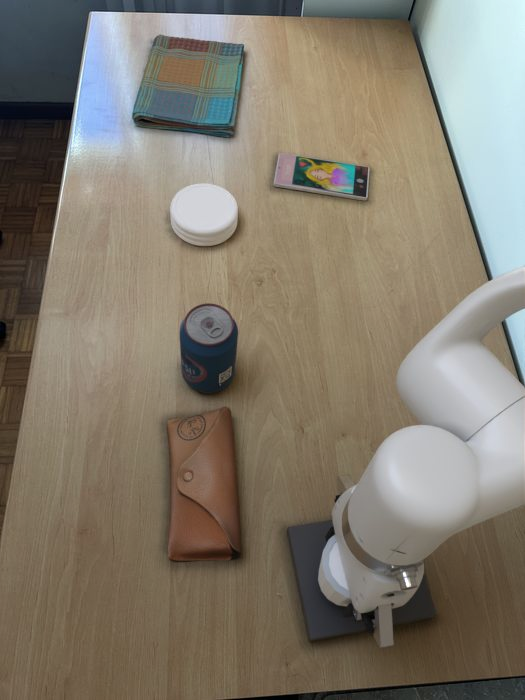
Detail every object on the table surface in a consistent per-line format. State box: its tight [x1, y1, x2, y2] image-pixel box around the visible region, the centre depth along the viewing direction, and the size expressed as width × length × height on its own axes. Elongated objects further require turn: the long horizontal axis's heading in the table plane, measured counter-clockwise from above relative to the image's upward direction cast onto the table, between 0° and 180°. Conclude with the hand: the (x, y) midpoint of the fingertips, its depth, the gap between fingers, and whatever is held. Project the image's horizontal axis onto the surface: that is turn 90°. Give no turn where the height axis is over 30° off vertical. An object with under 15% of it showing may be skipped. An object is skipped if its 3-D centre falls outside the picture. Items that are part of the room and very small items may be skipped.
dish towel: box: [131, 34, 245, 138], centre depth 115 cm, size 17×23×2 cm
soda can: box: [179, 302, 239, 394], centre depth 82 cm, size 7×7×12 cm
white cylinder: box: [318, 535, 352, 606], centre depth 68 cm, size 7×7×7 cm
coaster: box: [169, 182, 239, 247], centre depth 99 cm, size 10×10×4 cm
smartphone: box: [272, 152, 370, 202], centre depth 106 cm, size 7×1×15 cm
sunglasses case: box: [166, 406, 243, 562], centre depth 78 cm, size 18×7×7 cm
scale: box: [286, 519, 437, 643], centre depth 74 cm, size 14×12×4 cm
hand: (348, 573), depth 69 cm, fingers closed on white cylinder, 6 cm apart
